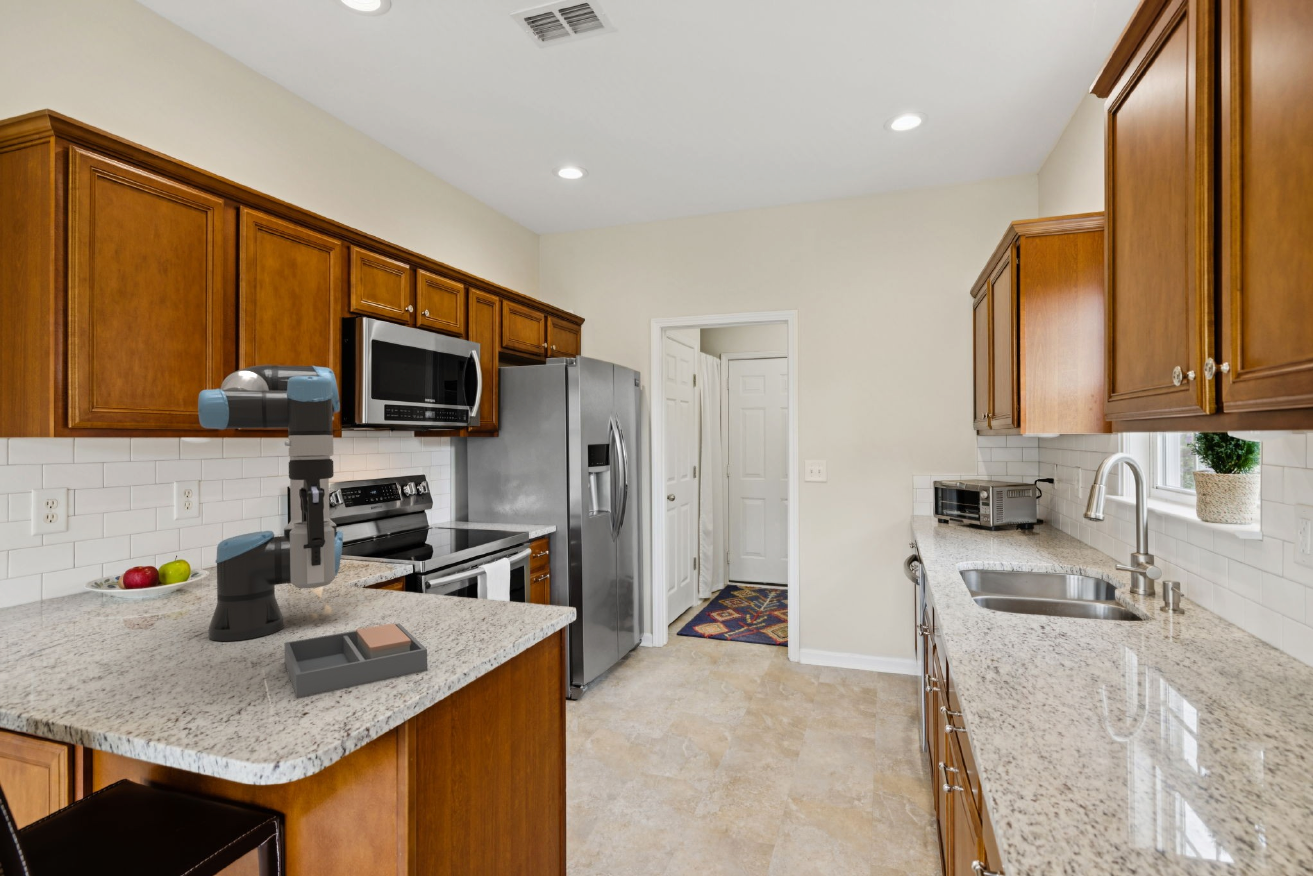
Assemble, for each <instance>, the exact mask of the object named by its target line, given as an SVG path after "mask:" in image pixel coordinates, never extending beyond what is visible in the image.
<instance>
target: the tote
mask: <svg viewBox="0 0 1313 876" xmlns="http://www.w3.org/2000/svg"><path fill="white" fill-rule="evenodd" d="M394 624H395V625H396V626H397V627H398V628H399V629H400V630H401V631H402V632H403V633H404V634H405V635H406V636H407V637H408V638H409V639H410V640H411V644H410V651H409V652H404V653H399V654H394V655H389V656H383V657H378V658H373V659H368V660H365V659H364V658H363V657H362V655H361V654H360V653H359V651H358V643H357V634H356V630H353V631H346V632H345V631H344V632H340V633H339V632H338V633H334V634H328V635H323V636H317V637H310V638H304V639H299V640H298V639H297V640H294V641H293V640H292V641H287V642H284V643H283V645H284V646H283V647H284V654H283V655H284V665H285V667H286V671H287V674H288V677H289V680H290V683H291V687H292V689H293V691H294V694H295V697H296V699H300V698H301V699H302V698H304V697H309V696H314V695H319V694H324V693H329V692H333V691H336V690H337V691H338V690H343V689H347V688H351V687H356V686H360V685H365V684H371V683H374V682H375V683H376V682H379V681H385V680H390V679H394V678H399V677H403V676H407V675H413V674H418V673H421V672H426V671H427V672H428V649H427V648H426V647H425V646H424V645H423V644H422V643H421V642H420V641H419V640H418V639H417V638H415V636H414V635H413V634H412V633H411V632H409V631H408V629H406V628H405V627H404V626H403V625H402V624H401V623H394Z"/></svg>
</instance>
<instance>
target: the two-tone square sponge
mask: <svg viewBox="0 0 1313 876" xmlns="http://www.w3.org/2000/svg"><path fill="white" fill-rule="evenodd" d="M395 624H396V623H388V624H387V623H386V624H382V625H381V624H380V625H376V626H371V627H365V628H358V629H355V631H356V634H357V643H358V651H359V653H360V654H361V655H362V657H363V658H364V659H365V660H368V659H373V658H378V657H383V656H389V655H394V654H399V653H404V652H409V651H410V644H411V640H410V639H409V638H408V637H407V636H406V635H405V634H404V633H403V632H402V631H401V630H400V629H399V628H398V627H397V626H396V625H395Z"/></svg>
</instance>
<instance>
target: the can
mask: <svg viewBox="0 0 1313 876" xmlns="http://www.w3.org/2000/svg"><path fill="white" fill-rule="evenodd" d="M330 523H331V522H330V521H324V539H325V544H324V545H323V547H324V582H320V583H311V584H307V549H304V548H303V546H304V545H306V544H308V538H307V521H305V522H298V523H294V524H293V525H294V528H293V529H292V530H291V531H290V573H291V583H290V584H291V585H293V586H294V587H295V588H297V589H314V588H321V587H325V586H328V585H330V584H331V583H332V582H333V581H334V580H335V579H336V576H335V540H334V528H333V527H331V526H330Z"/></svg>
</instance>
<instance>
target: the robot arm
mask: <svg viewBox="0 0 1313 876" xmlns="http://www.w3.org/2000/svg"><path fill="white" fill-rule="evenodd" d="M221 383H222V384H221V386H220V388H215V389H203V390H201V391H200V392H199V394H198V402H197V405H198V406H197V410H198V421H199V425H200V426H201V427H202V428H204V429H218V430H225V429H227V430H228V429H229V430H230V429H287V430H288V432H287V435H288V436H287V437H288V440H286V441H284V446H285V447H288V456H289V461H288V479H289V484H290V485H289V488H290V489H289V490H290V521H289V523H288V524H287V525H286V526H285V527H284V528H283V535H281V536H280V535H279V536H275V533H274V531H272V530H264V531H263V530H262V531H254V532H249V533H244V534H239V535H236V536H232V537H228V538H226V539H223V540H221V541H220V542H219V543H218V545H217V547H216V559H215V564H216V594H217V595H216V596H217V598H216V599H217V602H216V607H215V609H214V612H213V615H212V617H211V622H210V624H209V625H208V638H209V639H210V640H212V641H216V642H217V641H218V642H235V641H243V640H251V639H255V638H260V637H264V636H269V635H271V634H274V633H276V632H279V631H280V630H282V629H284V626H285V625H284V619H285V618H284V615H283V613H282V610H281V608H280V606H279V602H278V601H277V598H276V595H275V593H276V591H275V589H276V587H275V586H277V585H286V584H291V573H290V531H291V530H292V529H293V528H294V525H293V524H294V523H298V522H305V521H307V538H308V544H306V545H304V546H303V548H304V549H307V584H311V583H320V582H324V547H323V545H324V544H325V539H324V521H330V522H331V523H330V526H331V527H333V528H334V540H335V577H336V576H338V574H339V571H340V567H341V561H342V560H341V559H342V553H343V540H344V533H343V531H340V530H337V524H336V523H335V522H334V521H333V520H332V519H331V518H330V484H329V482H330V481H329V479H332V478H333V477H334V476H335V475H334V460H333V458H331V456H333V455H334V435H333V433H334V432H333V421H334V419H335V418H334V417H335V414H337V413H338V412H340V410H341V403H340V396H339V390H338V389H339V388H338V384H337V379H336V375H335V372H334V371H333V370H332V369H331V368H329V367H325V366H315V365H277V364H275V365H272V364H261V365H259V364H258V365H255V366H253V365H252V366H248V367H245V368H242V369H238V370H236V371H234V372H232V373H229V374H228V375H227V376H226V377H225V379H224V380H223V381H222V382H221Z"/></svg>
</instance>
